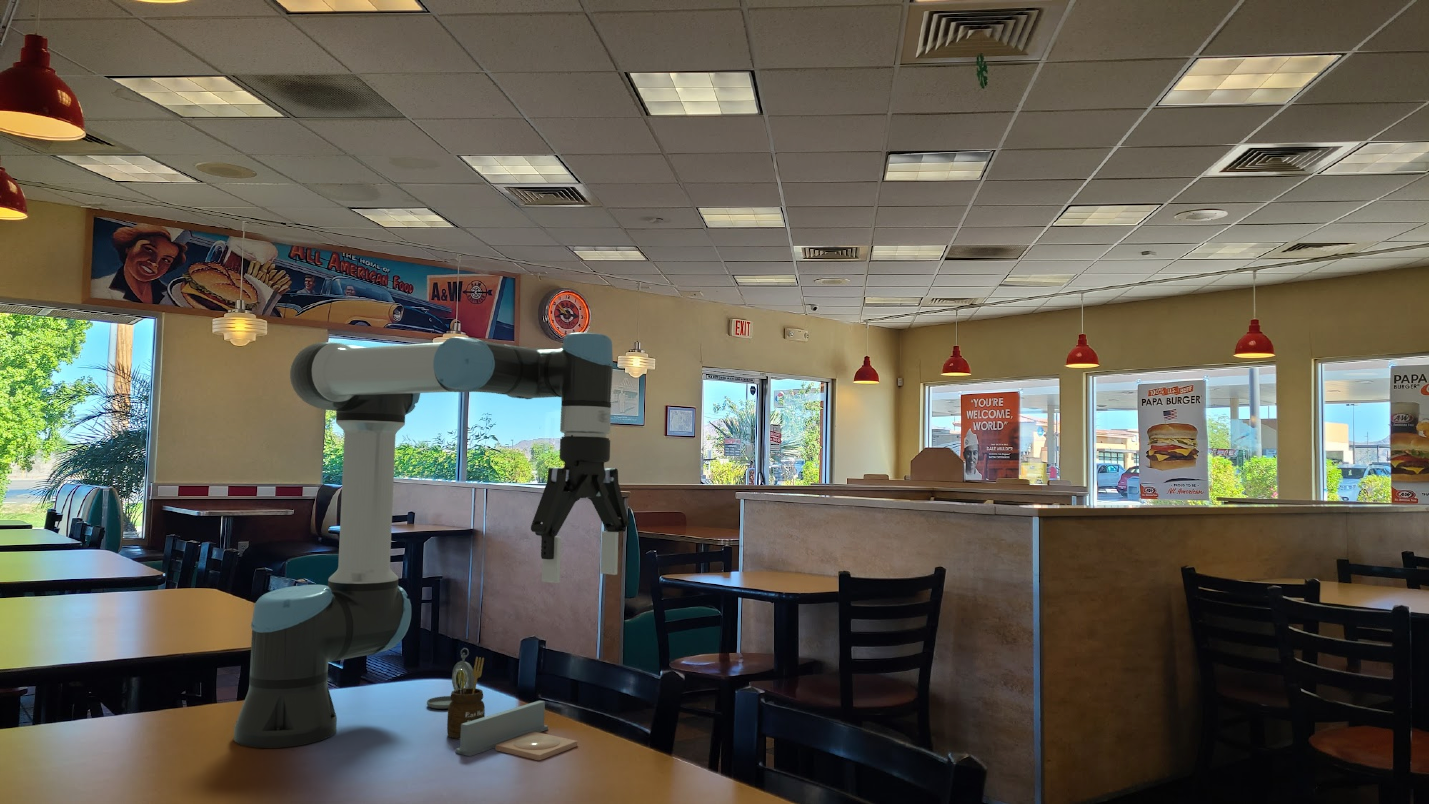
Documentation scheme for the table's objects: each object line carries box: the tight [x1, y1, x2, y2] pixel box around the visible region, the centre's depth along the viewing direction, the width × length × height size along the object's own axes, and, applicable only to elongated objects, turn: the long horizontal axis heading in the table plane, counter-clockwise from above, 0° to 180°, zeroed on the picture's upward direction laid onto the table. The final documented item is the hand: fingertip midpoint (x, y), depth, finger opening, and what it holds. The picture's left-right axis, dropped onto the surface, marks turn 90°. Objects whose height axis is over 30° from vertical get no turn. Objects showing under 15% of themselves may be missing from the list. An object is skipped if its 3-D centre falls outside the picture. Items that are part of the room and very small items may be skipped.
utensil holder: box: [446, 656, 486, 740], centre depth 156 cm, size 6×6×12 cm
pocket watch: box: [426, 647, 475, 710], centre depth 174 cm, size 8×8×10 cm
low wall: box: [455, 700, 549, 757], centre depth 153 cm, size 3×18×4 cm, turn 149°
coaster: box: [495, 732, 578, 761], centre depth 149 cm, size 9×9×1 cm
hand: (581, 578), depth 141 cm, fingers open, 13 cm apart
